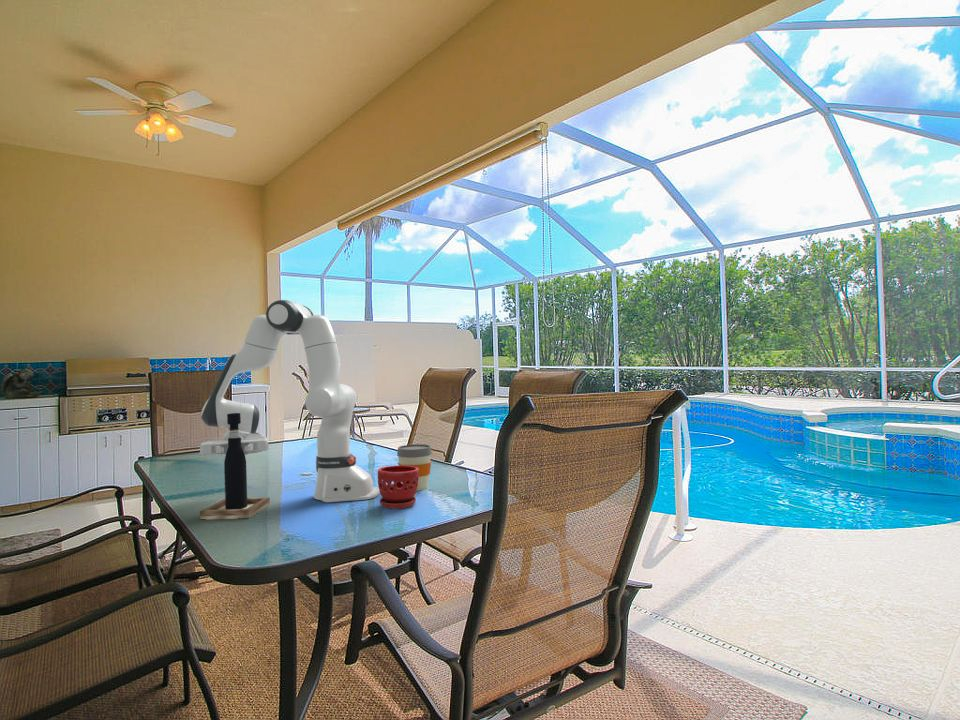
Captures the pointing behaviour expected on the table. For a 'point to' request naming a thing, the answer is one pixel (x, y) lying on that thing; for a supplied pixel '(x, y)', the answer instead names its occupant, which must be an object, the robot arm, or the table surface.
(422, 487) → the reusable coffee cup
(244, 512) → the bottle coaster
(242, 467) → the wine bottle
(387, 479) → the plant pot
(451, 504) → the table surface
